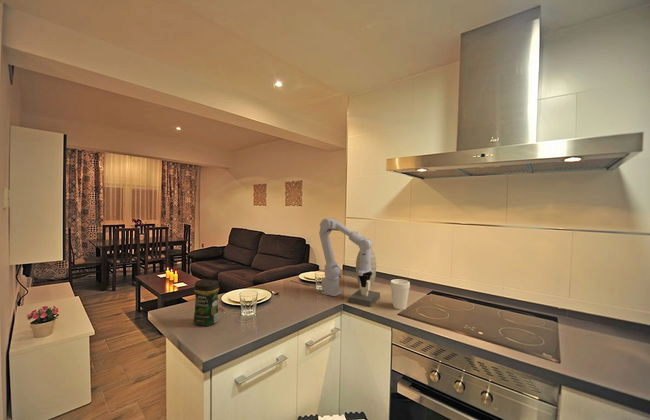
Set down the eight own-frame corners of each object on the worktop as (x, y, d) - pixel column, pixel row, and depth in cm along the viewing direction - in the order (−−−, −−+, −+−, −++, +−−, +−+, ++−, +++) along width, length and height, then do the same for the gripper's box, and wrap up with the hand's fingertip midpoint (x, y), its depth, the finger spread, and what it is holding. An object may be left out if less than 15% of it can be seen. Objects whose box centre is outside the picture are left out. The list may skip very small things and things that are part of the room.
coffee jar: (190, 325, 112) (190, 281, 112) (203, 317, 120) (203, 276, 120) (209, 328, 110) (210, 283, 110) (221, 320, 118) (222, 278, 117)
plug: (359, 295, 146) (359, 280, 145) (361, 293, 149) (362, 279, 148) (367, 296, 143) (368, 282, 143) (370, 295, 146) (370, 280, 146)
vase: (352, 285, 173) (353, 241, 173) (370, 283, 177) (370, 241, 177) (360, 291, 161) (361, 244, 161) (379, 289, 165) (380, 244, 164)
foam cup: (402, 312, 130) (402, 285, 130) (386, 306, 137) (387, 281, 137) (412, 307, 136) (413, 282, 136) (397, 302, 143) (398, 278, 143)
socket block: (348, 302, 142) (348, 296, 142) (360, 294, 156) (360, 289, 156) (370, 306, 136) (370, 301, 136) (380, 297, 150) (380, 292, 150)
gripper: (367, 264, 137) (367, 290, 137) (376, 259, 150) (376, 284, 150) (354, 263, 141) (354, 288, 141) (364, 258, 153) (364, 282, 154)
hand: (364, 286), depth 146 cm, fingers closed on plug, 3 cm apart
